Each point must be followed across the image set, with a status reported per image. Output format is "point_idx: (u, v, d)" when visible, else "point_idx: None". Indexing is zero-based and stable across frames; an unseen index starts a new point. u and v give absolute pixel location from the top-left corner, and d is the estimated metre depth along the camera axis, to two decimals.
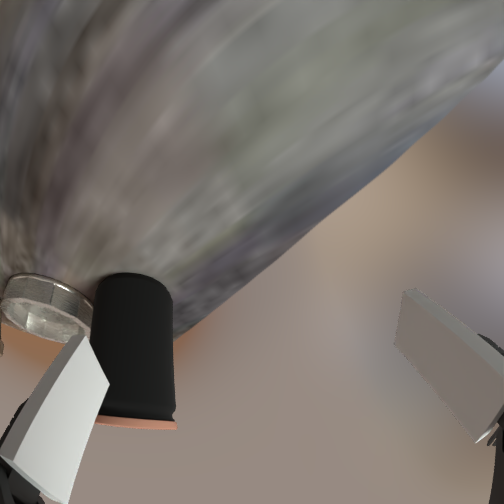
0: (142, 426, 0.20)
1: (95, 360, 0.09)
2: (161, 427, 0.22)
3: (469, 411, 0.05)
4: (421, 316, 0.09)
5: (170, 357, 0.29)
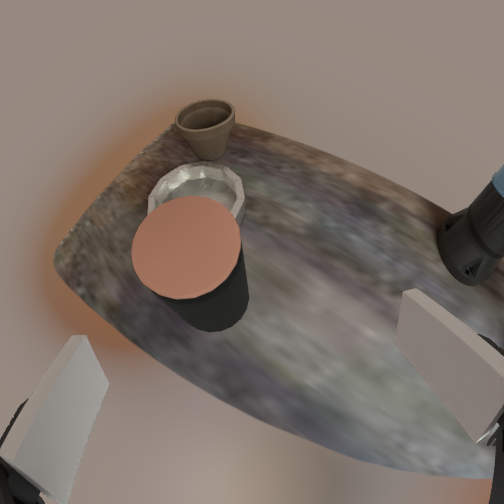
0: (232, 265, 0.24)
1: (95, 360, 0.09)
2: (216, 284, 0.23)
3: (469, 411, 0.05)
4: (421, 316, 0.09)
5: (208, 318, 0.30)
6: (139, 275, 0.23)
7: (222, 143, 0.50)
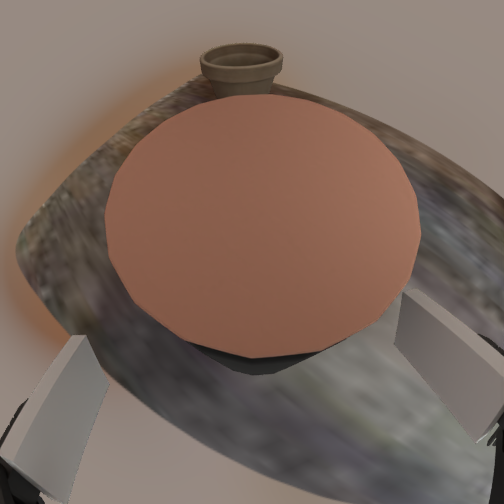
0: (416, 250, 0.07)
1: (95, 360, 0.09)
2: (388, 305, 0.07)
3: (469, 411, 0.05)
4: (421, 316, 0.09)
5: (280, 369, 0.14)
6: (122, 273, 0.07)
7: None
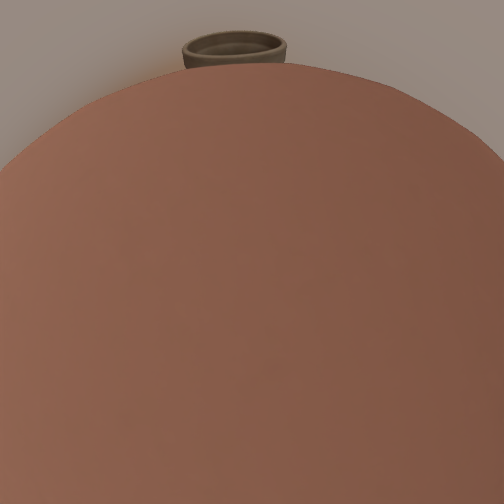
0: None
1: None
2: None
3: None
4: None
5: None
6: None
7: None
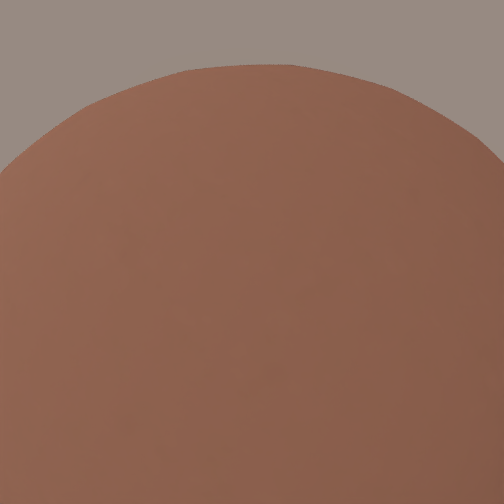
0: None
1: None
2: None
3: None
4: None
5: None
6: None
7: None
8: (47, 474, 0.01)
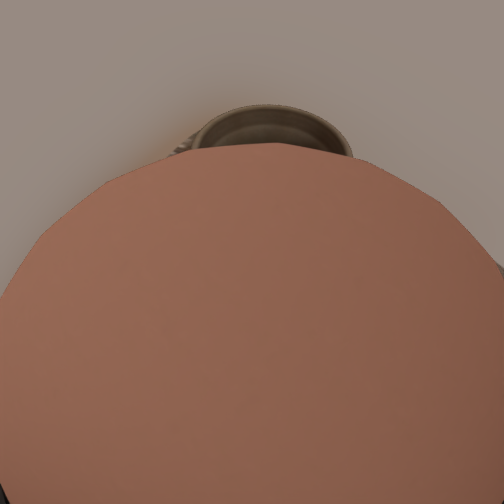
0: None
1: None
2: None
3: None
4: None
5: None
6: None
7: None
8: (119, 463, 0.02)
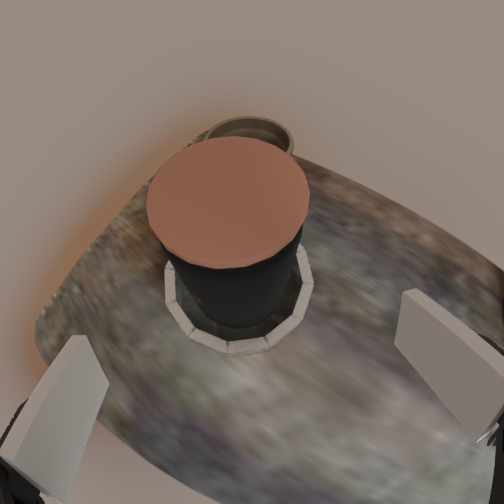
0: (302, 220, 0.16)
1: (95, 360, 0.09)
2: (281, 244, 0.15)
3: (469, 411, 0.05)
4: (421, 316, 0.09)
5: (245, 306, 0.22)
6: (157, 232, 0.15)
7: None
8: (197, 187, 0.17)
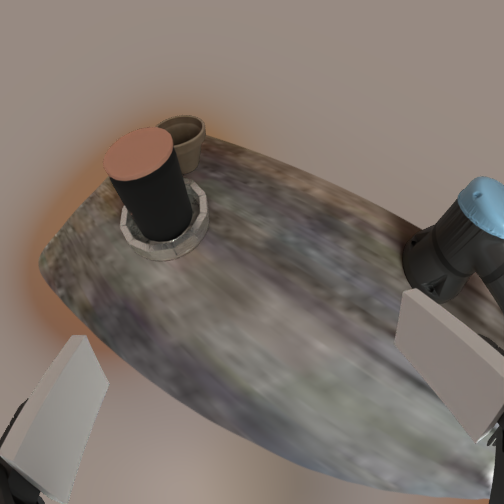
0: (163, 158, 0.33)
1: (95, 360, 0.09)
2: (150, 168, 0.32)
3: (469, 411, 0.05)
4: (421, 316, 0.09)
5: (151, 213, 0.39)
6: (105, 168, 0.32)
7: (193, 158, 0.53)
8: (125, 150, 0.34)
